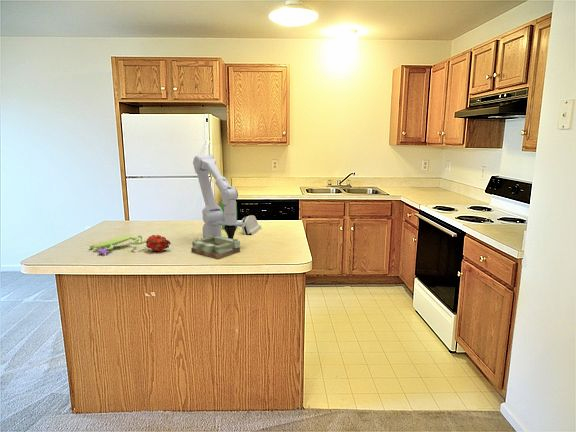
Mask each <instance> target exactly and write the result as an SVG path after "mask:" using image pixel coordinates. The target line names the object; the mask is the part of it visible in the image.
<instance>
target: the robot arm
mask: <svg viewBox="0 0 576 432" xmlns="http://www.w3.org/2000/svg"><path fill="white" fill-rule="evenodd" d="M192 165H193V169H194V172H195V174H196V175H197V179H198V183H199V187H200V190H201V193H202V197H203V201H204V204H205V206H204V207H203V209H202V211H201V213H202V221H203V222H204V224H203V226H202V238H206V237H209V236H221V237H222V226H225V227H224V232H225V233H226V236H227V238H230V239H234V237H235V233H236V230H237V229H238V228H239V227H240V228H242V227H245V223H243V222H241V221H238V220H237V221H236V202H237V201H236V200H237V199H238V198H239V191H238V190H237V188H235V187H233V186H232V185H231V184H230V183H229V181H228V179H227V178H226V177H225V176H222V174H221V172H220V170H219V168H218V166H217V159H216V157H215V156H214V155H212V154H210V155H209V154H208V155H195V156H194V157H193V160H192ZM209 174H210V175H212V177H213V178H214V180H215V181H214V182H215V185H216V186H217V189H218V191H219V192H220V198H221V202H222V201H223V204H224V213H223V211H222V210H221V205H218V204H217V203H216V200H215V197H214V192H213V188H212V185H211V182H210V177H209ZM231 186H232V187H231ZM223 220H224V221H223Z"/></svg>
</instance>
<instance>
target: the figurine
mask: <svg viewBox="0 0 576 432" xmlns="http://www.w3.org/2000/svg"><path fill="white" fill-rule="evenodd" d="M142 239H143V236H142V235H140V234H139V235H138V236H137V237H134V236H132V235H125V236H120V237H119V236H118V237H114V238H111V239H107V240H105V241H102V242H101V241H100V242H99V243H94V244H93V243H92V244H91V245H90V246H89V248H90V249H92V248H93V249H98V250H97V253H98V255H100V254H102V255H101V256H106V255H105V254H109V255H110V250H113V249H114V246H116V247H117V246H118V248H119V247H121V245H118V244H121V243H125V242H127V241H129V240H131V241H132V242H131V245H134V246H135V245H137V246H138V245H143V244H146V241H147V239H146V240H145V239H144V240H142ZM138 241H140V242H138Z"/></svg>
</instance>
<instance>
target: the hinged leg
mask: <svg viewBox="0 0 576 432" xmlns="http://www.w3.org/2000/svg"><path fill="white" fill-rule="evenodd" d="M214 241H215V244H220V245H222V244H225V243H231V244H232V248H238V247H240V248H241V241H240V240H239V239H237V238H233V239H230V238H228V237H224V236H222V235H221V236H217V237H214Z"/></svg>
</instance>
